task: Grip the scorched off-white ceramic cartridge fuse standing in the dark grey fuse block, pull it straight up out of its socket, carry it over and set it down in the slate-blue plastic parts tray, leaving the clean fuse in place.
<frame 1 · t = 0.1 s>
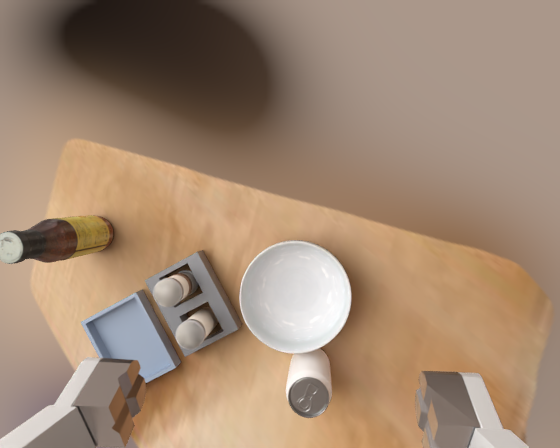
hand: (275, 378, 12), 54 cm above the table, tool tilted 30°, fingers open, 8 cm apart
blown fuse: (186, 282, 68), resting in fuse block
sauce bottle: (98, 234, 69), on the table
fuse block: (196, 300, 68), on the table
parts tray: (134, 339, 69), on the table
cereal bowl: (297, 288, 66), on the table
can: (310, 363, 67), on the table
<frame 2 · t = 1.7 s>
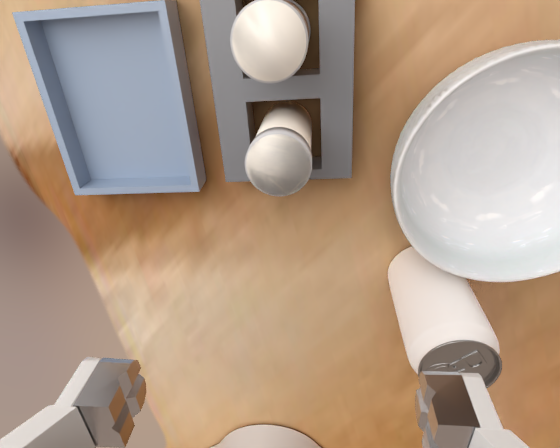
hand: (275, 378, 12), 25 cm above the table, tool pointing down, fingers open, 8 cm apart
blown fuse: (281, 31, 29), resting in fuse block
fuse block: (284, 81, 31), on the table
parts tray: (127, 102, 33), on the table
cereal bowl: (486, 146, 33), on the table
can: (420, 268, 39), on the table
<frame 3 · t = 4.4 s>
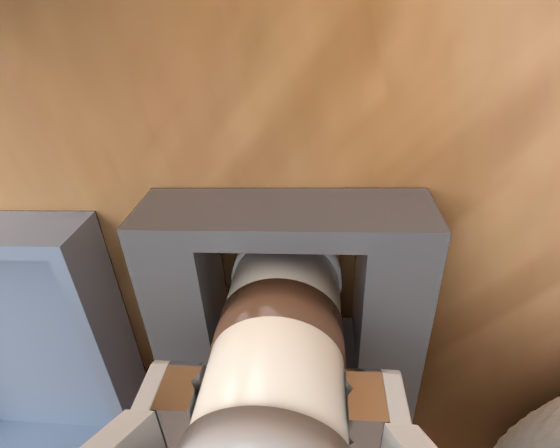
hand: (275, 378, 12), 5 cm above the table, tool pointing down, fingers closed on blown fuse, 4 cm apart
blown fuse: (288, 265, 16), resting in fuse block, touching gripper
fuse block: (290, 329, 18), on the table
parts tray: (27, 335, 20), on the table
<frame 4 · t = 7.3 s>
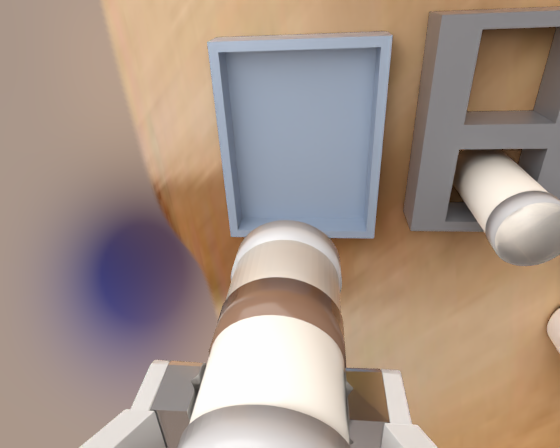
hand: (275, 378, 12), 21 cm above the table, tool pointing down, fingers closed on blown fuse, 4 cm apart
blown fuse: (287, 264, 16), point 16 cm above the table, touching gripper
fuse block: (488, 122, 28), on the table
parts tray: (301, 139, 30), on the table
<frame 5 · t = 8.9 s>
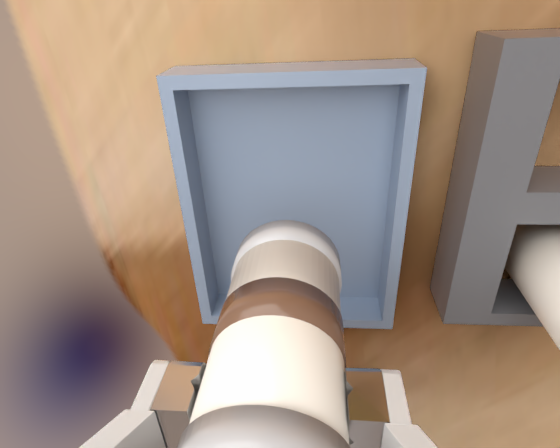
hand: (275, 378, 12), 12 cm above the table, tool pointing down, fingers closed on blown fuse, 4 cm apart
blown fuse: (287, 264, 16), point 6 cm above the table, touching gripper
fuse block: (552, 180, 20), on the table
parts tray: (294, 198, 22), on the table
when the fingers open (7 cm above the table, at t = 10.1 s): blown fuse drops 1 cm, resting on parts tray.
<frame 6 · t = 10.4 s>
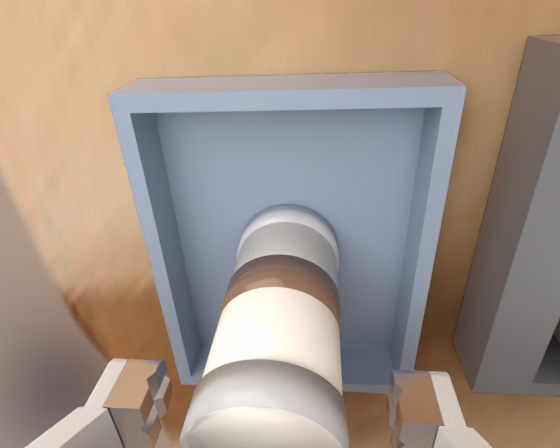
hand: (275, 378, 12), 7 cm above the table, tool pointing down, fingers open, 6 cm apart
blown fuse: (289, 246, 18), point 1 cm above the table, touching parts tray
parts tray: (290, 239, 18), on the table
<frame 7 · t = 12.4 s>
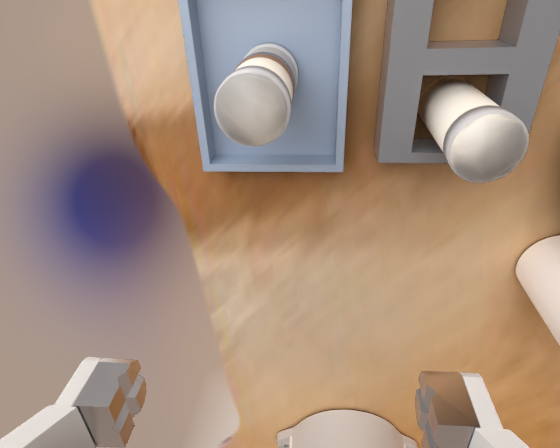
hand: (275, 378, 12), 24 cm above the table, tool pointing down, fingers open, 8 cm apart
blown fuse: (270, 73, 29), point 1 cm above the table, touching parts tray
fuse block: (455, 53, 28), on the table
parts tray: (271, 71, 30), on the table
can: (550, 260, 37), on the table
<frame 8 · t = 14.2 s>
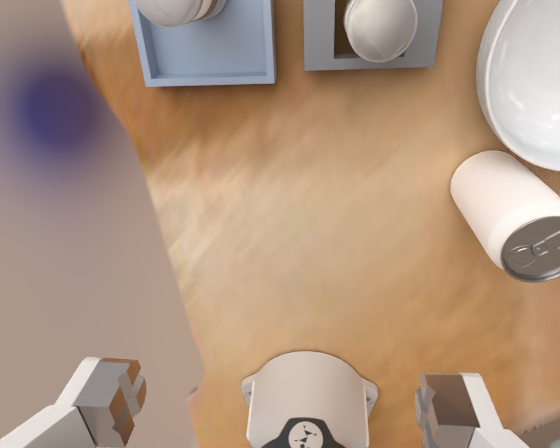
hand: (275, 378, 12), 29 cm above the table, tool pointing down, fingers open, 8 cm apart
can: (483, 179, 39), on the table
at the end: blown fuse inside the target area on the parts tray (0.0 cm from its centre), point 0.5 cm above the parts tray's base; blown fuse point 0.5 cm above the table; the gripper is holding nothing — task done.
